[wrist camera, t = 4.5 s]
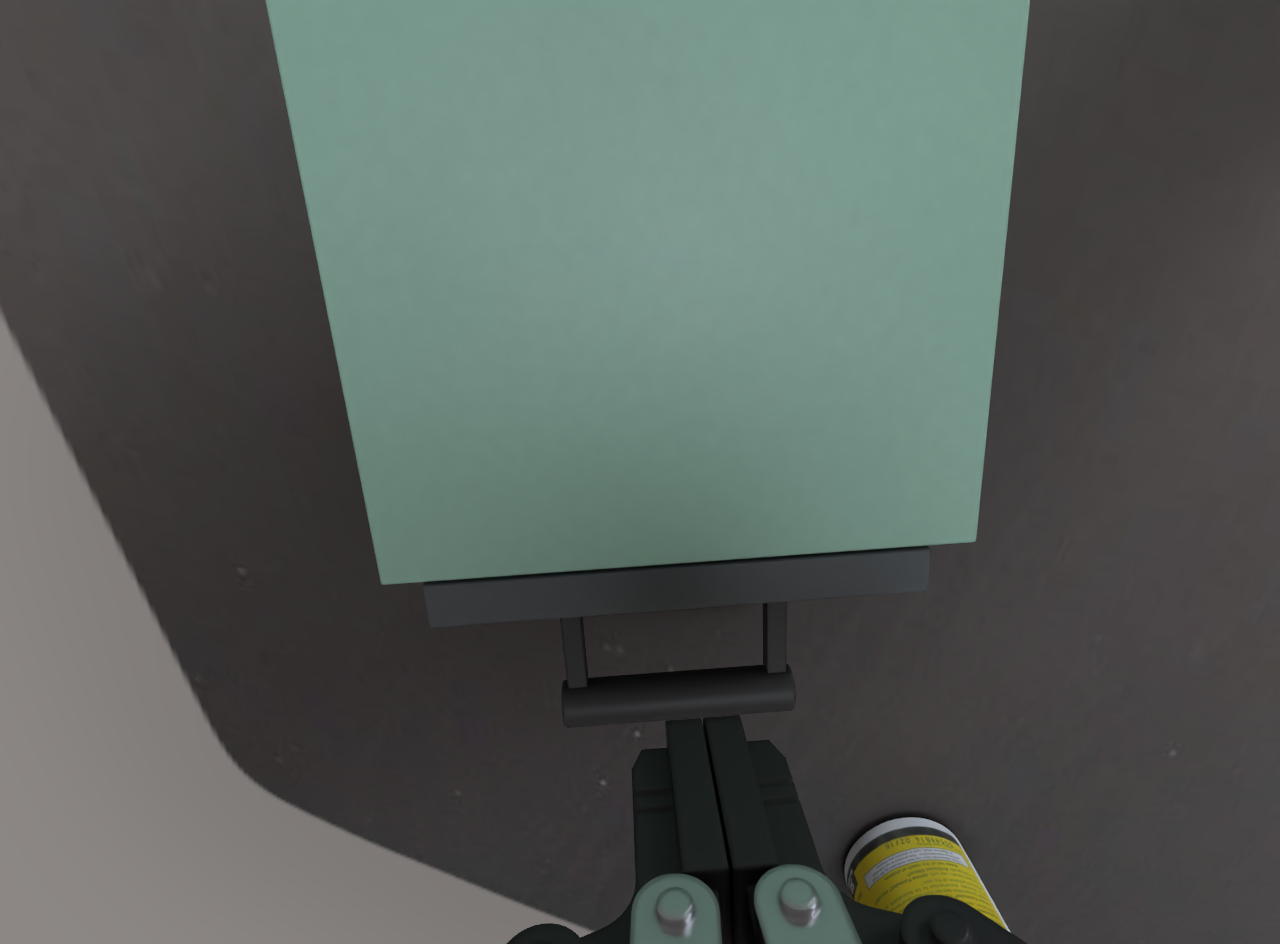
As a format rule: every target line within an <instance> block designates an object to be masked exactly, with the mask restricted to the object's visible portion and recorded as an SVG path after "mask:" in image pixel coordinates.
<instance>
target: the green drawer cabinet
mask: <svg viewBox="0 0 1280 944" xmlns="http://www.w3.org/2000/svg"><path fill="white" fill-rule="evenodd" d="M266 5H267V10H268V15H269V20H270V25H271V31H272V36H273V41H274V46H275V51H276V56H277V61H278V66H279V71H280V76H281V81H282V86H283V91H284V96H285V101H286V106H287V111H288V116H289V121H290V126H291V131H292V137H293V142H294V147H295V152H296V157H297V162H298V167H299V172H300V177H301V182H302V187H303V192H304V197H305V202H306V207H307V212H308V217H309V222H310V227H311V232H312V237H313V243H314V248H315V253H316V258H317V263H318V268H319V273H320V278H321V283H322V288H323V293H324V298H325V303H326V308H327V313H328V318H329V323H330V328H331V333H332V338H333V343H334V349H335V354H336V359H337V364H338V369H339V374H340V379H341V384H342V389H343V394H344V399H345V404H346V409H347V414H348V419H349V424H350V429H351V434H352V439H353V444H354V449H355V455H356V460H357V465H358V470H359V475H360V480H361V485H362V490H363V495H364V500H365V505H366V510H367V515H368V520H369V525H370V530H371V535H372V540H373V545H374V550H375V555H376V561H377V566H378V571H379V576H380V581H381V584H383V585H386V584H400V583H414V582H428V581H442V580H456V579H469V578H483V577H497V576H511V575H525V574H538V573H552V572H566V571H580V570H594V569H607V568H621V567H635V566H649V565H663V564H676V563H690V562H704V561H718V560H732V559H746V558H759V557H773V556H787V555H801V554H815V553H828V552H842V551H856V550H870V549H884V548H897V547H911V546H925V545H939V544H953V543H966V542H975V541H976V535H977V525H978V515H979V505H980V495H981V485H982V475H983V465H984V455H985V445H986V435H987V425H988V415H989V405H990V395H991V385H992V375H993V365H994V355H995V345H996V335H997V325H998V315H999V305H1000V295H1001V285H1002V275H1003V265H1004V255H1005V245H1006V235H1007V225H1008V215H1009V205H1010V195H1011V185H1012V175H1013V165H1014V156H1015V146H1016V136H1017V126H1018V116H1019V106H1020V96H1021V86H1022V76H1023V66H1024V56H1025V46H1026V36H1027V26H1028V16H1029V6H1030V0H266Z"/></svg>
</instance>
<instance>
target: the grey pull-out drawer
mask: <svg viewBox="0 0 1280 944" xmlns="http://www.w3.org/2000/svg"><path fill="white" fill-rule="evenodd" d="M930 554H931V550H930V548H929V547H928V546H927V545H925V546H911V547H897V548H884V549H870V550H856V551H842V552H828V553H815V554H801V555H787V556H773V557H759V558H746V559H732V560H718V561H704V562H690V563H676V564H663V565H649V566H635V567H621V568H607V569H594V570H580V571H566V572H552V573H538V574H525V575H511V576H497V577H483V578H469V579H456V580H442V581H428V582H424V584H423V586H422V588H423V594H424V600H425V605H426V611H427V616H428V622H429V626H430V627H431V628H435V627H448V626H462V625H476V624H489V623H503V622H516V621H530V620H543V619H557V618H560V620H561V629H562V638H563V647H564V656H565V665H566V674H567V680H564V681H563V684H562V714H563V721H564V725H565V727H568V728H569V727H582V726H595V725H608V724H621V723H634V722H647V721H660V720H673V719H686V718H699V717H712V716H726V715H739V714H752V713H765V712H778V711H791V710H793V709H794V707H795V701H796V694H795V684H794V679H793V675H792V671H791V669H790V667H789V665H788V664H786V618H787V602H788V601H801V600H815V599H829V598H842V597H856V596H869V595H883V594H896V593H910V592H924V591H927V590H928V580H929V567H930ZM761 603H763V663H764V665H754V666H740V667H727V668H714V669H701V670H687V671H674V672H661V673H648V674H634V675H621V676H608V677H594V678H588V669H587V658H586V648H585V638H584V628H583V618H582V617H584V616H598V615H611V614H625V613H638V612H652V611H666V610H679V609H693V608H706V607H720V606H733V605H747V604H761Z"/></svg>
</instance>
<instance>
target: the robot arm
mask: <svg viewBox="0 0 1280 944" xmlns="http://www.w3.org/2000/svg"><path fill="white" fill-rule="evenodd" d="M666 740H667V748H659V749H646V750H641V752H640V754H639V756H638V758H637V760H636V762H635V764H634V766H633V768H632V787H633V812H634V814H633V815H634V843H635V871H636V886H635V891H634V895H633V898H632V900H631V902H630V904H629V906H628V907H627V909H626V910H625V911H624V912H623V914H622V915H621V916H620V917H619V918H618V919H616V920H615V921H614V922H612V923H611V924H610V925H608V926H606V927H604V928H602V929H600V930H598V931H595V932H593V933H591V934H588V935H586V936H584V937H581V938H579V936H578V935H577V934H576V933H575V932H573V931H572V930H571V929H569V928H567V927H564V926H561V925H559V924H540V925H535V926H532V927H530V928H527V929H525V930H523V931H521V932H520V933H518V934H517V935H516V936H514V937H513V938H512V939H511V940H510V941H509V942H508V943H507V944H1027V943H1026V942H1024V941H1023V940H1021V939H1020V938H1018V937H1017V936H1015V935H1014V934H1012V933H1011V932H1009V931H1008V930H1006V929H1005V928H1003V927H1002V926H1000V925H999V924H997V923H996V922H994V921H993V920H991V919H990V918H988V917H987V916H985V915H984V914H982V913H981V912H979V911H978V910H976V909H975V908H973V907H972V906H970V905H968V904H966V903H965V902H963V901H960V900H958V899H956V898H952V897H949V896H944V895H924V896H921V897H918V898H916V899H914V900H912V901H911V902H910V903H909V904H908V905H907V906H906V907H905V909H904V910H903V913H902V914H901V913H896V912H892V911H887V910H883V909H878V908H874V907H870V906H867V905H863V904H861V903H859V902H856V901H854V900H852V899H851V898H849V897H847V896H846V895H844V894H843V893H842V892H840V891H839V890H838V889H837V887H836V886H835V885H834V884H833V882H832V881H831V880H830V879H829V878H827V876H826V875H825V873H824V871H823V869H822V866H821V864H820V861H819V858H818V855H817V852H816V849H815V846H814V843H813V840H812V837H811V834H810V831H809V828H808V825H807V822H806V819H805V816H804V813H803V810H802V807H801V804H800V801H799V800H798V795H797V792H796V789H795V786H794V783H793V781H792V776H791V773H790V770H789V767H788V764H787V761H786V758H785V757H784V756H783V755H782V754H781V753H780V752H779V750H778V749H777V748H776V747H775V746H774V745H773V744H772V743H771V742H770V741H769V740H761V741H748V742H747V741H746V737H745V733H744V729H743V726H742V722H741V718H740V716H739V715H734V716H721V717H708V718H703V725H702V720H701V718H697V719H684V720H670V721H666Z"/></svg>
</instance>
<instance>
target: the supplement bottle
mask: <svg viewBox="0 0 1280 944" xmlns="http://www.w3.org/2000/svg"><path fill="white" fill-rule="evenodd" d="M844 871H845V880H846V884H847V887H848V891H849V893H850V897H851V899H852V900H854V901H856V902H859V903H861V904H863V905H867V906H870V907H874V908H878V909H883V910H887V911H892V912H896V913H901V914H902V913H903V910H904V909H905V907H906V906H907V905H908V904H909V903H910V902H911V901H912V900H914V899H916V898H918V897H921V896H924V895H944V896H949V897H952V898H956V899H958V900H960V901H963V902H965V903H966V904H968V905H970V906H972V907H973V908H975V909H976V910H978V911H979V912H981V913H982V914H984V915H985V916H987V917H988V918H990V919H991V920H993V921H994V922H996V923H997V924H999V925H1000V926H1002V927H1003V928H1005V929H1006V930H1008V931H1009V932H1010V930H1009V929H1008V927H1007V925H1006V923H1005V922H1004V920H1003V918H1002V916H1001V914H1000V913H999V911H998V909H997V907H996V906H995V904H994V902H993V900H992V898H991V897H990V895H989V893H988V891H987V890H986V888H985V886H984V884H983V882H982V881H981V879H980V877H979V875H978V874H977V872H976V870H975V868H974V866H973V865H972V863H971V861H970V859H969V858H968V856H967V854H966V852H965V851H964V849H963V847H962V845H961V844H960V842H959V841H958V839H957V838H956V837H955V835H954V834H953V833H952V832H951V831H950V830H948V829H947V828H946V827H944V826H942V825H941V824H939V823H936V822H934V821H931V820H928V819H924V818H916V817H907V818H899V819H894V820H890V821H887V822H884V823H882V824H879V825H877V826H876V827H874V828H872V829H871V830H869V831H868V832H866V833H865V834H864V835H863V836H861V837H860V838H859V839H858V840H857V841H856V843H855V844H854V845H853V846H852V848H851V849H850V851H849V853H848V856H847V858H846V862H845V869H844Z"/></svg>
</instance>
